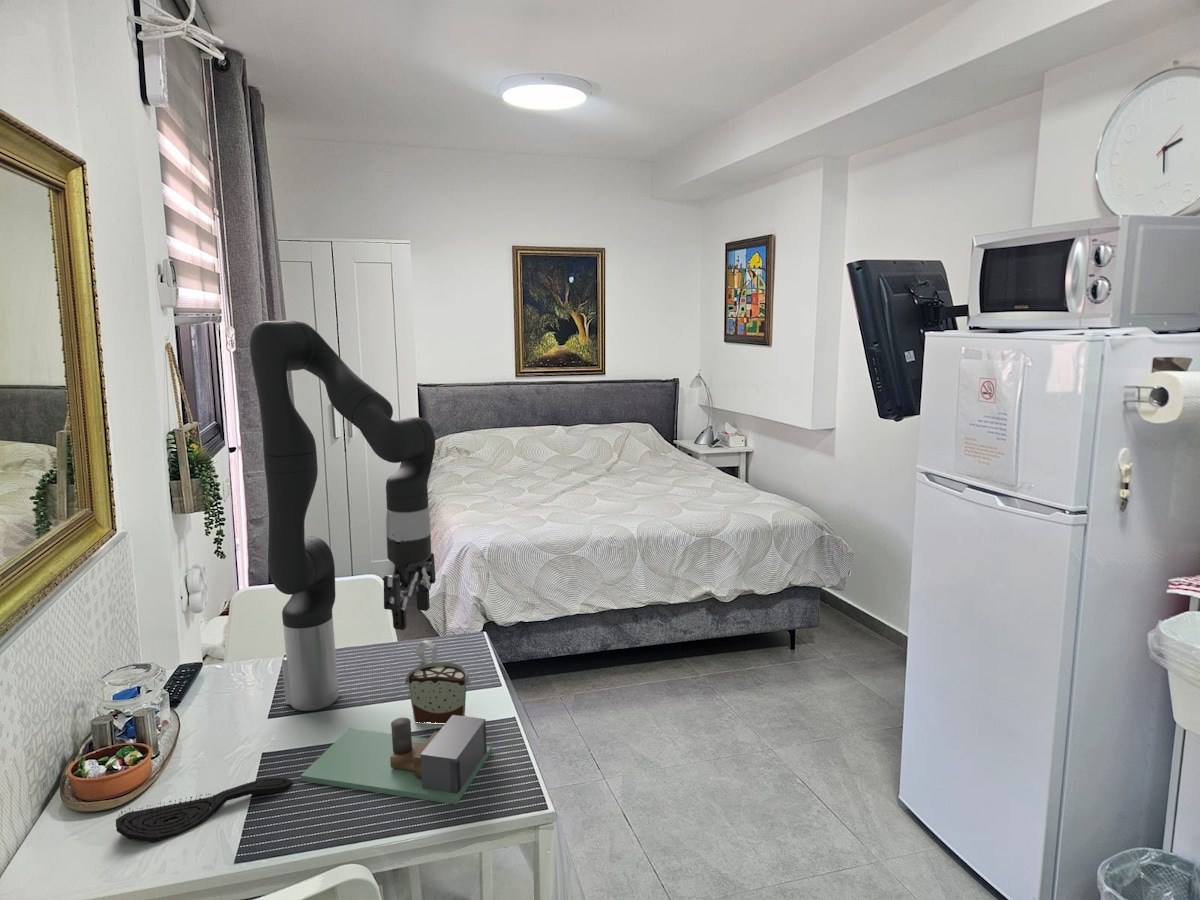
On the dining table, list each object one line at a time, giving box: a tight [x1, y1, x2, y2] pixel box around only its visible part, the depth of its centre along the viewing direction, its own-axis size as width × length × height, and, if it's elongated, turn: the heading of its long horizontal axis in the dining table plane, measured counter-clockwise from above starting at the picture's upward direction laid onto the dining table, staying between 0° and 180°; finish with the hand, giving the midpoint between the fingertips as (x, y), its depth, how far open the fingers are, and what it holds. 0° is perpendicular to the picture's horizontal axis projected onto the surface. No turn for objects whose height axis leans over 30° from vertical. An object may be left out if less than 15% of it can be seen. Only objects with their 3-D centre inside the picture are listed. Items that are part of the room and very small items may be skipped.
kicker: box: [390, 717, 439, 778], centre depth 133 cm, size 7×8×7 cm
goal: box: [420, 715, 488, 794], centre depth 132 cm, size 6×12×6 cm, turn 166°
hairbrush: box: [115, 777, 294, 844], centre depth 124 cm, size 8×4×25 cm
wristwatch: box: [414, 639, 438, 664], centre depth 172 cm, size 3×5×5 cm, turn 54°
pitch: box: [300, 727, 492, 805], centre depth 135 cm, size 28×15×1 cm, turn 76°
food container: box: [404, 661, 471, 723], centre depth 150 cm, size 12×6×10 cm, turn 84°
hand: (412, 619), depth 140 cm, fingers open, 8 cm apart
